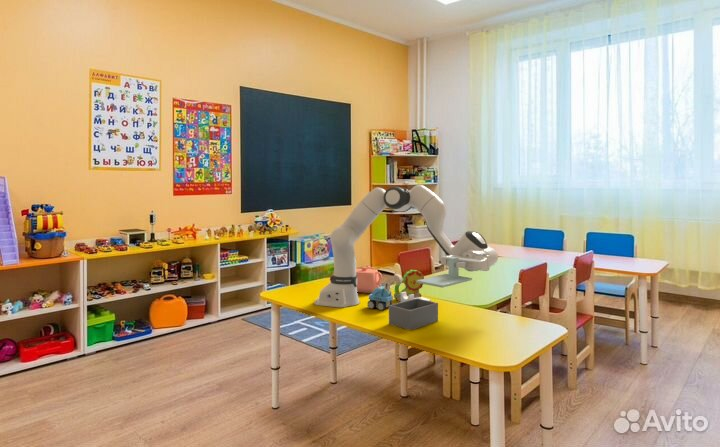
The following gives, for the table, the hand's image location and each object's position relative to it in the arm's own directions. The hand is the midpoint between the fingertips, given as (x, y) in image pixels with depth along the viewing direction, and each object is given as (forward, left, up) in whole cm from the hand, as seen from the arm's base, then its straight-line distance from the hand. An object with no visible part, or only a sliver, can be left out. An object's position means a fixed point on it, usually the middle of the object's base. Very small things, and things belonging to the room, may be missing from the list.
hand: (452, 264), depth 184 cm
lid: (-3, -4, -6) cm, 8 cm away
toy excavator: (-31, +26, -27) cm, 48 cm away
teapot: (-47, +63, -27) cm, 83 cm away
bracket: (-17, +31, -27) cm, 44 cm away
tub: (-16, +6, -26) cm, 31 cm away
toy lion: (-21, +46, -27) cm, 57 cm away
